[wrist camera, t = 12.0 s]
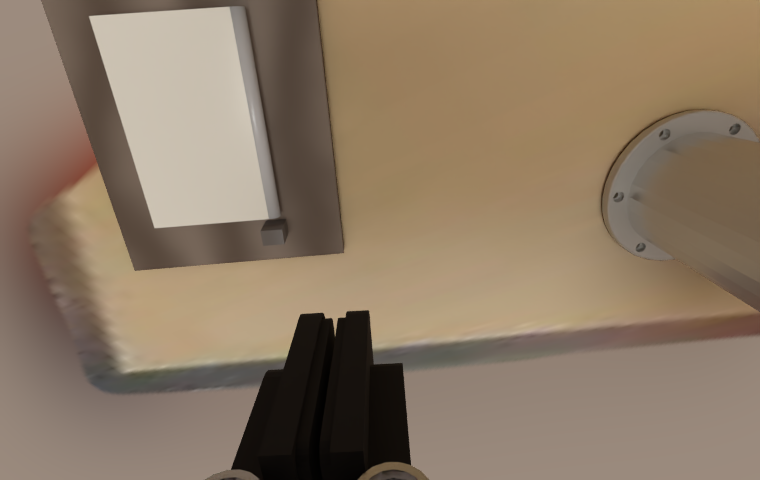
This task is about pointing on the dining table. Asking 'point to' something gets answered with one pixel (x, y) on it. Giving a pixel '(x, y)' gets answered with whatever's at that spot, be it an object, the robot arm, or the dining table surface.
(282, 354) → the dining table surface
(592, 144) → the dining table surface
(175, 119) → the tile
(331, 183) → the board
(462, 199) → the dining table surface
